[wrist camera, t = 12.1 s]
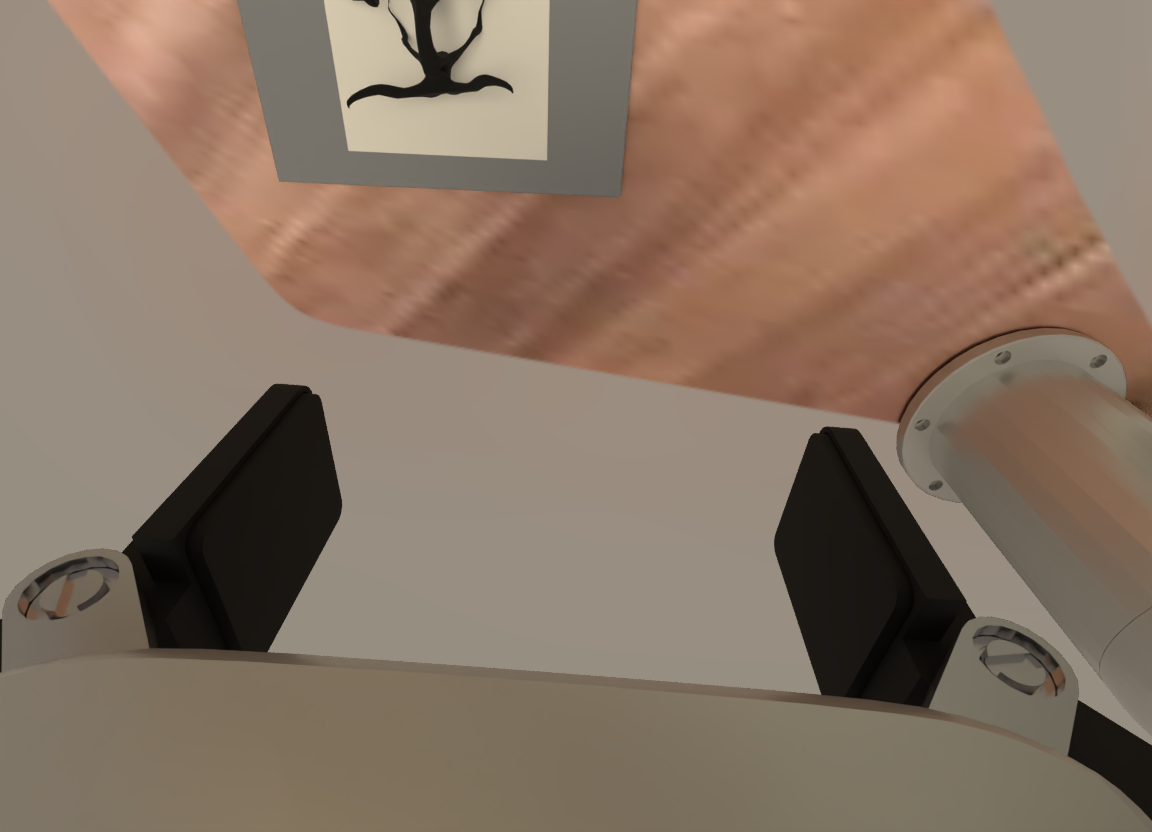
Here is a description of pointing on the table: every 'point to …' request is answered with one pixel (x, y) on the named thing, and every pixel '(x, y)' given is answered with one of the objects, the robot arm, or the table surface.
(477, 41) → the grey picture mat
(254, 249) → the table surface
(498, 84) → the creature
